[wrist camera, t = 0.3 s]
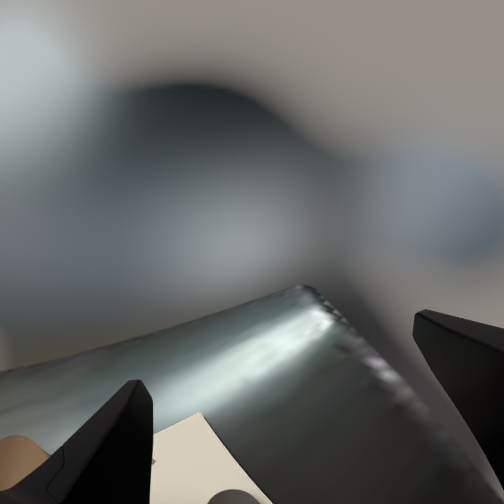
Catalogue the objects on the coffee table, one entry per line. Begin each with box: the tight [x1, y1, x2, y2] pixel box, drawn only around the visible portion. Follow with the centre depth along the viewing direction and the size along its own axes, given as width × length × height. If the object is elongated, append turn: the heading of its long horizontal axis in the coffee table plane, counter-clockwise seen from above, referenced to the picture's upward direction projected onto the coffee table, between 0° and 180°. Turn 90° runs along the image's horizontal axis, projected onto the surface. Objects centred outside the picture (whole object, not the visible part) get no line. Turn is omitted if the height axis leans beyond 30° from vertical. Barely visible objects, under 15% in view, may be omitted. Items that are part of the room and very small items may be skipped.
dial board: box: [150, 412, 273, 504], centre depth 14 cm, size 14×14×1 cm
